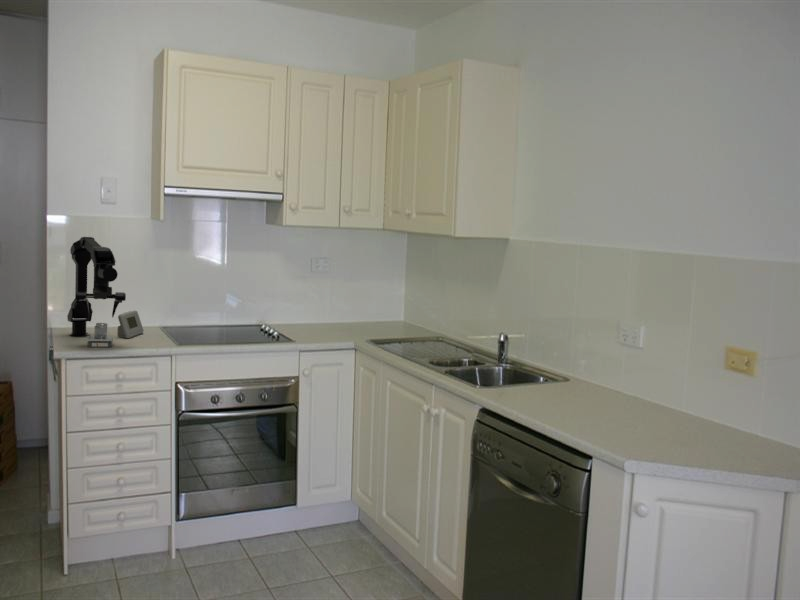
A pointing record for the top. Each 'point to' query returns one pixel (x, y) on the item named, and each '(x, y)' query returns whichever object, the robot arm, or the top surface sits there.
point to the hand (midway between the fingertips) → (100, 317)
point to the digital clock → (129, 325)
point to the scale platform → (108, 338)
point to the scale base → (100, 343)
